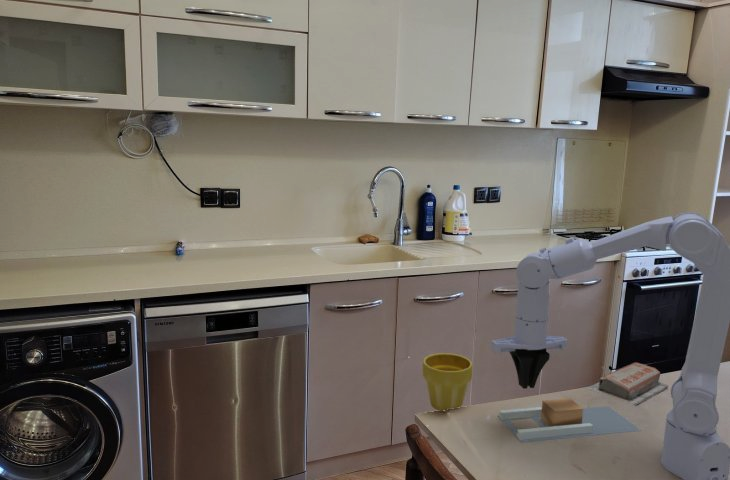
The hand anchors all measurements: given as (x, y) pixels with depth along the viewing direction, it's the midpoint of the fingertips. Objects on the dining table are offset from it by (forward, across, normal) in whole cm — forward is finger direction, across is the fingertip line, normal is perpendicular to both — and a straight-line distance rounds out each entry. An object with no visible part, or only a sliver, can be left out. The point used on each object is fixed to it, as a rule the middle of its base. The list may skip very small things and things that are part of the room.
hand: (526, 386), depth 102 cm
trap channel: (+9, -10, 0) cm, 13 cm away
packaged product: (+10, -33, -13) cm, 37 cm away
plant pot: (+10, +11, -13) cm, 20 cm away
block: (+8, -8, 0) cm, 12 cm away
